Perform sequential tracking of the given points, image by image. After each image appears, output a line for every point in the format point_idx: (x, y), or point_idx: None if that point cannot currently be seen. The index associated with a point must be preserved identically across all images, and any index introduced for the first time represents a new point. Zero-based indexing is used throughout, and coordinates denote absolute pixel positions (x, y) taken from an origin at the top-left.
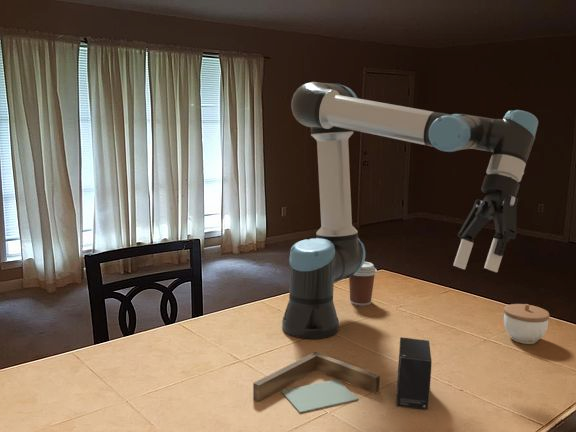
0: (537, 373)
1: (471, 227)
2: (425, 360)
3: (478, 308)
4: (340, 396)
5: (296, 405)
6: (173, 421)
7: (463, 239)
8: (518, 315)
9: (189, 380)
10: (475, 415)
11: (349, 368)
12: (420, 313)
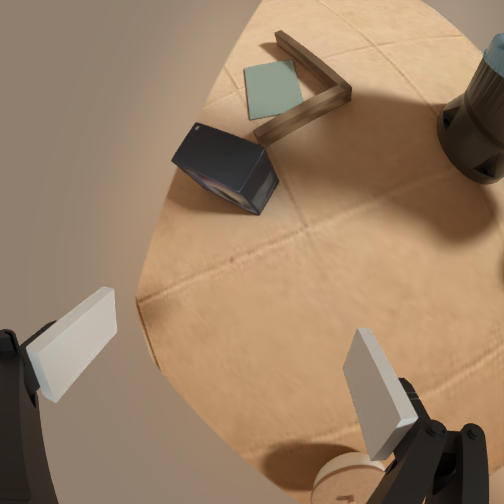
0: (240, 405)
1: (382, 500)
2: (175, 153)
3: None
4: (261, 103)
5: (257, 66)
6: (264, 8)
7: (398, 418)
8: (339, 474)
9: (332, 13)
10: (174, 238)
11: (291, 109)
12: (500, 357)
